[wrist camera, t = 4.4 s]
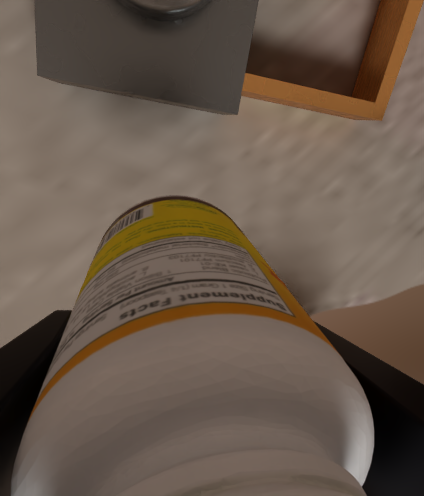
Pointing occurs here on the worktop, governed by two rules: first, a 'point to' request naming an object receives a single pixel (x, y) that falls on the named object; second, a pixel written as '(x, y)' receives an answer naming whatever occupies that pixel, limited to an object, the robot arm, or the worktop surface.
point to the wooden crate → (201, 54)
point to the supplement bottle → (192, 375)
